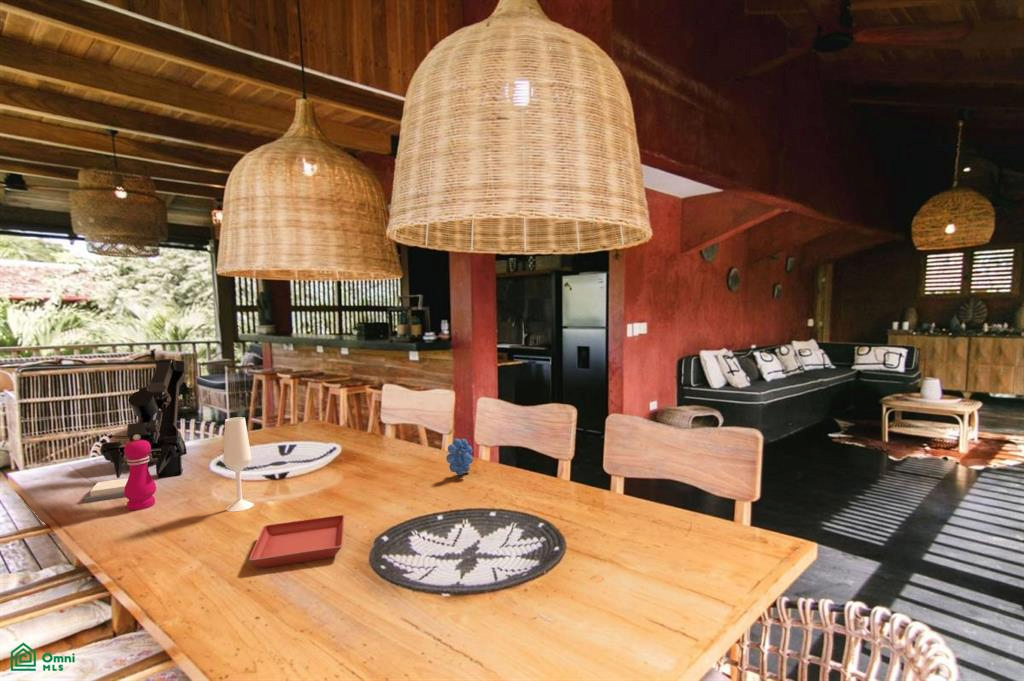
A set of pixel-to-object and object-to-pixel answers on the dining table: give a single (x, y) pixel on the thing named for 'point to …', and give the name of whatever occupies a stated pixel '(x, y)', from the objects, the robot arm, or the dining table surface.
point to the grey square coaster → (106, 490)
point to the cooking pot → (124, 439)
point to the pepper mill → (139, 475)
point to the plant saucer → (298, 541)
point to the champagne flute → (237, 456)
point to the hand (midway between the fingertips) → (137, 475)
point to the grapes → (459, 456)
